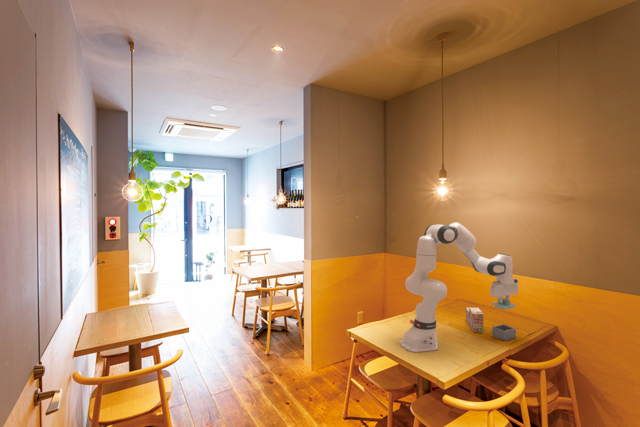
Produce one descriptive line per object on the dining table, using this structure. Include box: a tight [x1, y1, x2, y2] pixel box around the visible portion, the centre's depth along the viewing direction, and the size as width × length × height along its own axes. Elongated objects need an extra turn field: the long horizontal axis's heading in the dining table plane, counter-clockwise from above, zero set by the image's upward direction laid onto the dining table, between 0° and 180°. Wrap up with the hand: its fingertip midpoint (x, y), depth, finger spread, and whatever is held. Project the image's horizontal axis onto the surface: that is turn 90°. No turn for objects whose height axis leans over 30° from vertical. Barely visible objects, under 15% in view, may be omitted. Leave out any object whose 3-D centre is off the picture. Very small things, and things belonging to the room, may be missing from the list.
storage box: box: [491, 323, 517, 342], centre depth 191 cm, size 10×8×6 cm
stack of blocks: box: [465, 307, 484, 334], centre depth 209 cm, size 21×6×12 cm, turn 166°
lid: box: [491, 297, 517, 310], centre depth 191 cm, size 10×8×5 cm
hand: (503, 302), depth 191 cm, fingers closed on lid, 3 cm apart
